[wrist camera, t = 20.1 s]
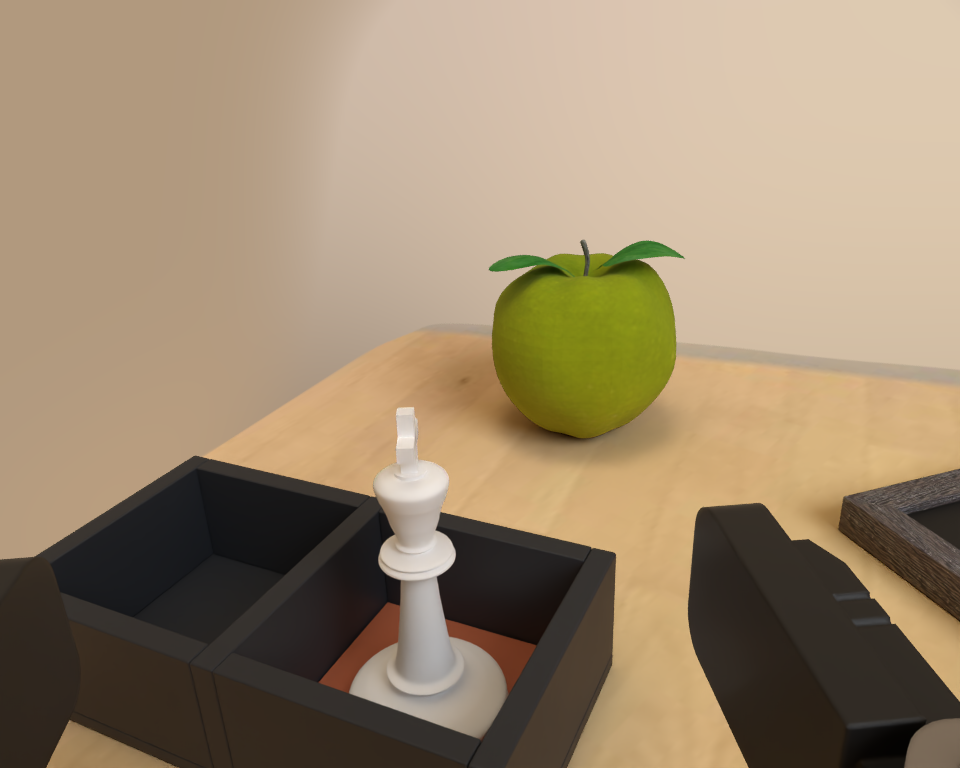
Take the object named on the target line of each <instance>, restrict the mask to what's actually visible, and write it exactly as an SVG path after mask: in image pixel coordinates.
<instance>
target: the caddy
mask: <svg viewBox="0 0 960 768" xmlns="http://www.w3.org/2000/svg"><path fill="white" fill-rule="evenodd" d="M435 531H438V532H441V533H443V534H444V535H446V536H447V537H448V538H449V539H450V540H451V542H452V544H453V547H454V549H455V552H456V557H455V561H454V563H453V564H452V566H451V567H450V568H449V569H448V570H447V571H445V572H444V573H442V574H441V575H439V576H437V582H438V587H439V594H440V599H441V604H442V608H443V613H444V617H445V622H446V626H447V631H448V635H449V637H453V638H458V639H461V640H465V641H467V642H470V643H472V644H474V645H476V646H478V647H480V648H481V649H483V650H484V651H486V652H487V653H488V654H489V655H490V656H492V657H493V659H494V660H495V661H496V662H497V663H498V665H499V666H500V668H501V670H502V672H503V674H504V677H505V680H506V684H507V690H508V693H509V695H508V697H507V698H506V700H505V702H504V704H503V705H502V707H501V709H500V711H499V712H498V714H497V716H496V718H495V719H494V721H493V723H492V725H491V726H490V728H489V730H488V732H487V733H486V735H485V737H484V739H483V740H482V742H481V740H480V739H478V738H475V737H472V736H469V735H466V734H464V733H461V732H458V731H455V730H452V729H449V728H446V727H444V726H441V725H438V724H435V723H432V722H429V721H427V720H424V719H421V718H418V717H415V716H412V715H409V714H407V713H404V712H401V711H398V710H395V709H392V708H389V707H387V706H384V705H381V704H378V703H375V702H372V701H369V700H367V699H364V698H361V697H358V696H355V695H352V694H349V690H350V687H351V684H352V682H353V680H354V678H355V676H356V674H357V673H358V672H359V670H360V669H361V668H362V666H363V665H364V664H365V663H366V662H367V661H368V660H369V659H370V658H372V657H373V656H374V655H375V654H377V653H378V652H380V651H381V650H383V649H385V648H387V647H389V646H391V645H393V644H395V643H398V635H399V619H400V600H401V580H399V579H395V578H393V577H391V576H389V575H387V574H386V573H384V572H383V570H382V569H381V568H380V566H379V562H378V557H379V554H380V549H381V547H382V545H383V543H384V542H385V541H386V540H387V539H388V538H390V537H391V536H393V535H395V533H394V532H393V530H392V528H391V526H390V524H389V521H388V518H387V516H386V514H385V512H384V510H383V508H382V507H381V505H380V504H379V502H378V500H377V498H376V497H370V496H368V495H364V494H359V493H355V492H351V491H346V490H342V489H338V488H333V487H329V486H325V485H320V484H316V483H312V482H307V481H303V480H299V479H294V478H290V477H286V476H281V475H277V474H273V473H268V472H264V471H260V470H255V469H251V468H247V467H242V466H238V465H234V464H229V463H225V462H221V461H216V460H212V459H210V460H209V459H207V458H203V457H199V456H193V457H192V458H190V459H189V460H187V461H185V462H184V463H182V464H181V465H179V466H177V467H176V468H174V469H173V470H171V471H170V472H168V473H166V474H165V475H163V476H162V477H160V478H158V479H157V480H156V481H154V482H152V483H151V484H149V485H147V486H146V487H144V488H143V489H141V490H139V491H138V492H136V493H135V494H133V495H132V496H130V497H128V498H127V499H125V500H124V501H122V502H120V503H119V504H117V505H116V506H114V507H113V508H111V509H110V510H108V511H106V512H105V513H103V514H102V515H100V516H99V517H97V518H95V519H94V520H92V521H90V522H89V523H87V524H86V525H84V526H83V527H81V528H80V529H78V530H76V531H75V532H73V533H71V534H70V535H68V536H67V537H65V538H64V539H62V540H60V541H59V542H57V543H56V544H54V545H53V546H51V547H49V548H48V549H46V550H45V551H43V552H41V553H40V554H38V555H37V556H35V557H43V558H45V559H46V560H47V561H48V562H49V563H50V565H51V567H52V568H53V571H54V574H55V577H56V580H57V584H58V587H59V590H60V594H61V597H62V600H63V604H64V607H65V610H66V614H67V617H68V620H69V624H70V627H71V630H72V634H73V637H74V640H75V644H76V647H77V650H78V654H79V658H80V667H81V680H80V689H79V695H78V699H77V702H76V706H75V708H74V711H73V713H72V715H71V717H70V720H73V721H75V722H77V723H79V724H82V725H84V726H86V727H89V728H91V729H93V730H95V731H98V732H100V733H102V734H104V735H107V736H109V737H111V738H114V739H116V740H118V741H120V742H123V743H125V744H127V745H130V746H132V747H134V748H136V749H139V750H141V751H143V752H146V753H148V754H150V755H152V756H155V757H157V758H159V759H162V760H164V761H166V762H168V763H171V764H173V765H175V766H178V767H180V768H567V766H568V764H569V761H570V759H571V757H572V755H573V752H574V750H575V748H576V745H577V743H578V741H579V739H580V736H581V734H582V732H583V729H584V727H585V725H586V723H587V720H588V718H589V716H590V714H591V711H592V709H593V707H594V704H595V702H596V700H597V698H598V695H599V693H600V691H601V689H602V686H603V684H604V682H605V679H606V677H607V675H608V673H609V670H610V668H611V666H612V656H613V655H612V649H613V622H614V595H615V567H616V554H615V553H613V552H609V551H605V550H600V549H596V548H593V549H592V550H591V547H589V546H585V545H580V544H576V543H572V542H568V541H563V540H559V539H555V538H550V537H546V536H542V535H537V534H533V533H529V532H524V531H520V530H516V529H511V528H507V527H503V526H498V525H494V524H490V523H485V522H481V521H477V520H472V519H468V518H464V517H459V516H455V515H451V514H446V513H442V512H440V516H439V521H438V524H437V527H436V530H435Z"/></svg>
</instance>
